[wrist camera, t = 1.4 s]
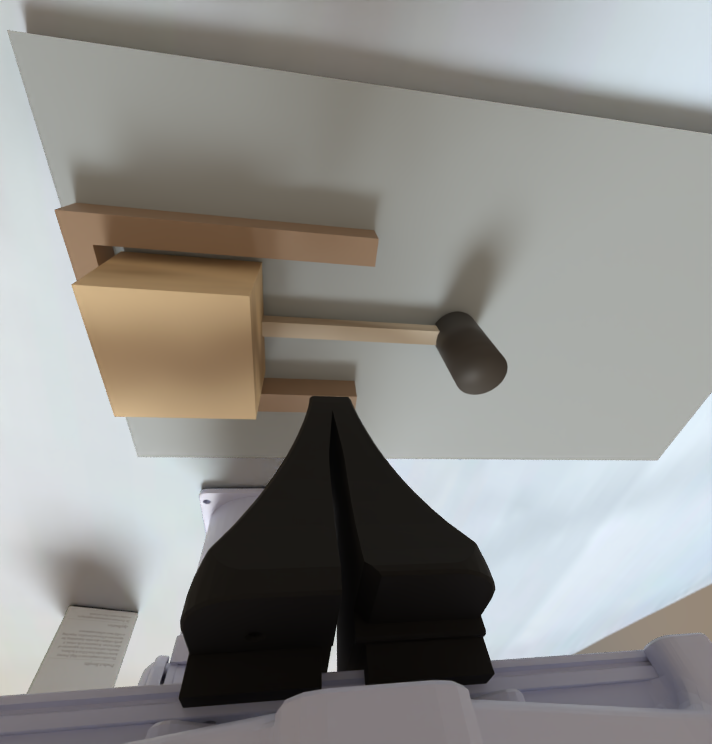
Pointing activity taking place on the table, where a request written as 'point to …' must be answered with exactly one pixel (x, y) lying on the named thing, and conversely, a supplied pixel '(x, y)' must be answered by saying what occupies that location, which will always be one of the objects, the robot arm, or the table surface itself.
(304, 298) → the lane
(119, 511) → the table surface
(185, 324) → the wooden mallet
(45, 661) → the skincare box
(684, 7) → the table surface
